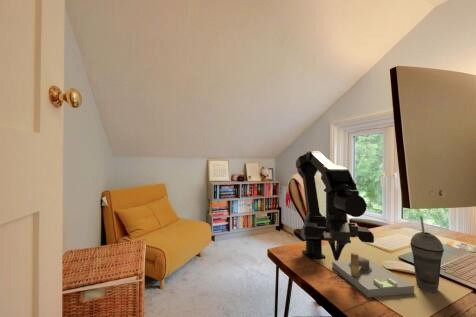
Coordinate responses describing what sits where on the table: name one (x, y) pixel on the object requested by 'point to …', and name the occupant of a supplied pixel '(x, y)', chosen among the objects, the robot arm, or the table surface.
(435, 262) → the beverage cup
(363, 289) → the stand base
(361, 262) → the cam lever
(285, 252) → the table surface
